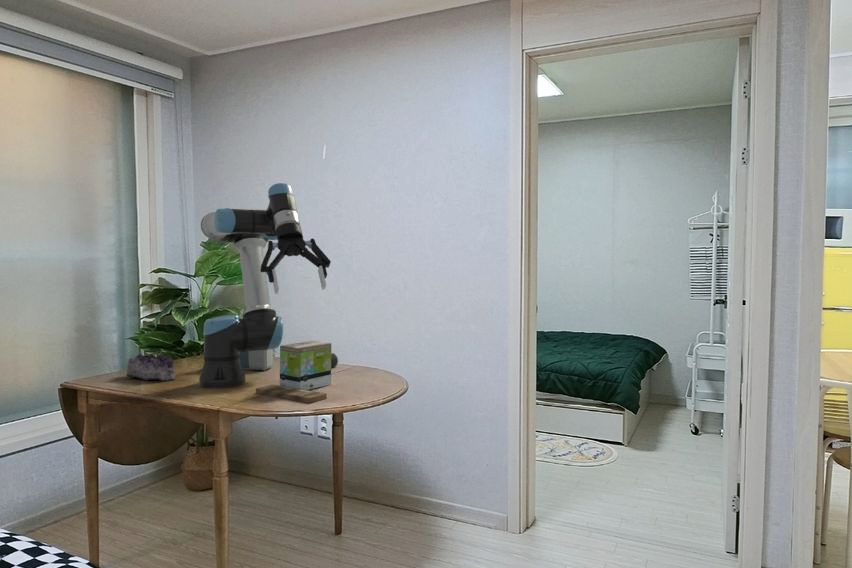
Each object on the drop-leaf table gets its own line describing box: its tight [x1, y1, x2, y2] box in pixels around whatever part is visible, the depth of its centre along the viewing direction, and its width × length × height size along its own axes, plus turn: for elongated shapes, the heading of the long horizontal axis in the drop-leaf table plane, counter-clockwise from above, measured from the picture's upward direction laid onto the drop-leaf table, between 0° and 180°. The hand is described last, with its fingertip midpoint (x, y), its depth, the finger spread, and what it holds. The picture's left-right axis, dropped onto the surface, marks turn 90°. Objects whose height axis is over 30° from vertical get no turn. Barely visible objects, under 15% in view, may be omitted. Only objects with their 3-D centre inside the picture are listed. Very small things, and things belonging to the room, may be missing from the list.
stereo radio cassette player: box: [240, 349, 274, 372], centre depth 232 cm, size 21×8×20 cm, turn 77°
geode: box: [126, 353, 176, 383], centre depth 215 cm, size 20×12×10 cm, turn 66°
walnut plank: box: [255, 384, 328, 404], centre depth 187 cm, size 24×7×2 cm, turn 57°
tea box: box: [279, 340, 332, 391], centre depth 200 cm, size 15×10×15 cm, turn 147°
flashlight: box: [331, 352, 339, 368], centre depth 231 cm, size 15×5×5 cm, turn 145°
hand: (301, 289), depth 170 cm, fingers open, 13 cm apart
